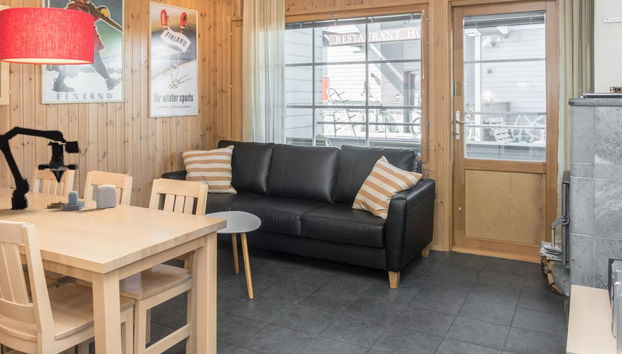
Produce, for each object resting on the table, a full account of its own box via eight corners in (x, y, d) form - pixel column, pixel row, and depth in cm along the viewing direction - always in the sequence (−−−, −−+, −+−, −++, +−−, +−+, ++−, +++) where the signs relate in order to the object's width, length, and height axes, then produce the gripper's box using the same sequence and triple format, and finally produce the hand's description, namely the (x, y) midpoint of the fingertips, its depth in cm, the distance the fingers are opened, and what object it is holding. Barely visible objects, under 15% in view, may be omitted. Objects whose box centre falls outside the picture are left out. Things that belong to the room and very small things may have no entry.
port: (62, 210, 262) (62, 205, 262) (68, 206, 274) (68, 201, 274) (79, 210, 264) (79, 204, 264) (84, 206, 276) (84, 200, 275)
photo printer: (114, 205, 278) (113, 183, 277) (117, 207, 275) (116, 184, 273) (95, 208, 271) (94, 185, 269) (98, 209, 268) (97, 186, 266)
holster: (47, 208, 268) (46, 205, 267) (55, 202, 283) (55, 200, 282) (65, 208, 269) (65, 205, 269) (73, 202, 284) (73, 200, 284)
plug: (68, 209, 267) (68, 192, 266) (70, 207, 271) (70, 190, 269) (76, 209, 267) (76, 192, 266) (78, 207, 271) (78, 190, 270)
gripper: (33, 155, 262) (35, 185, 264) (72, 155, 265) (73, 184, 267) (40, 153, 272) (41, 182, 275) (77, 153, 276) (79, 181, 278)
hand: (59, 182), depth 273 cm, fingers closed
